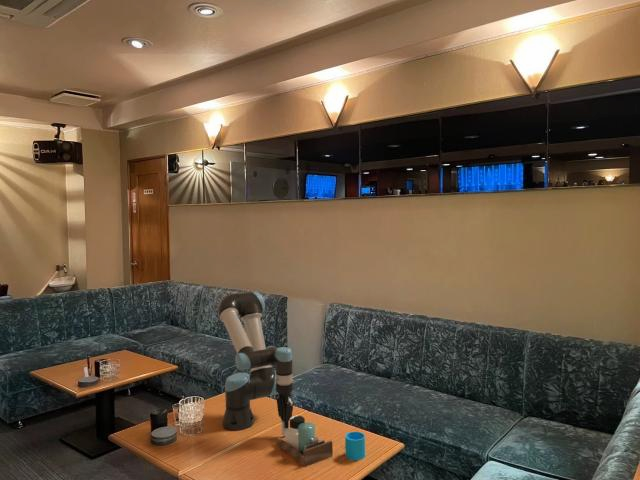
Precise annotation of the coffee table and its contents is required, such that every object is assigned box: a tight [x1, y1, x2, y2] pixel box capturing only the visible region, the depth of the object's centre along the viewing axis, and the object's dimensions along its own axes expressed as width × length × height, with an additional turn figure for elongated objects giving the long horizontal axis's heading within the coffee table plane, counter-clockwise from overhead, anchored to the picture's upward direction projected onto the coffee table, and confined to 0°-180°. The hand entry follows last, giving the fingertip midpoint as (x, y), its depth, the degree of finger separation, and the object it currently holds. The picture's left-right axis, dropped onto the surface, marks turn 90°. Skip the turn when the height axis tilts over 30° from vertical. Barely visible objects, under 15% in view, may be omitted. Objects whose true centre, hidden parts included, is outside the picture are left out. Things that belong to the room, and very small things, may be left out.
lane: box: [275, 436, 334, 467], centre depth 194 cm, size 23×13×6 cm, turn 35°
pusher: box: [304, 436, 326, 450], centre depth 187 cm, size 1×9×8 cm, turn 125°
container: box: [284, 415, 306, 451], centre depth 197 cm, size 8×8×13 cm
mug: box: [344, 431, 366, 461], centre depth 191 cm, size 12×8×8 cm
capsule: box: [298, 422, 316, 454], centre depth 190 cm, size 7×7×12 cm
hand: (285, 434), depth 207 cm, fingers closed
